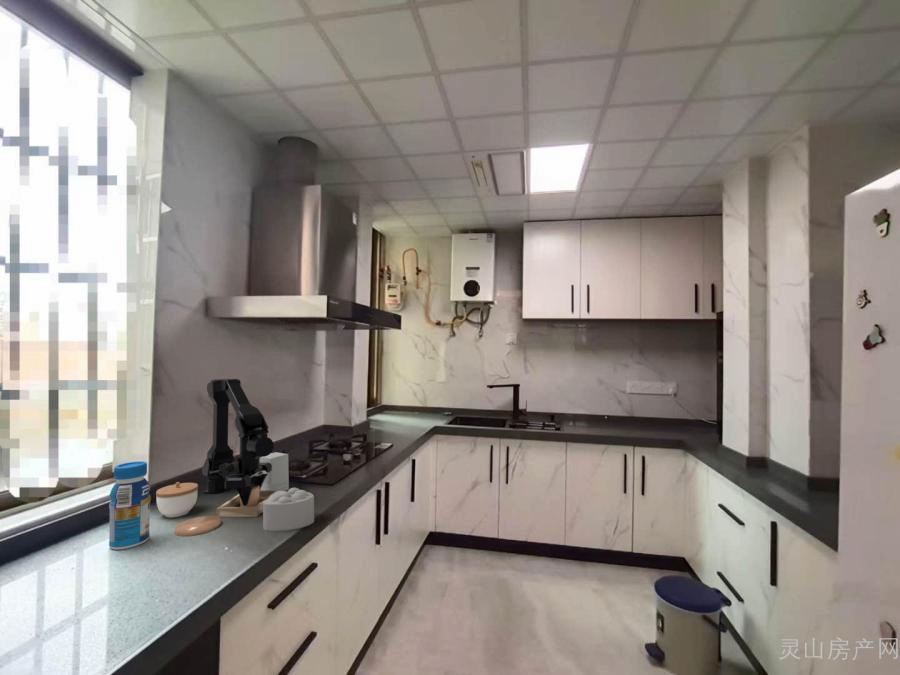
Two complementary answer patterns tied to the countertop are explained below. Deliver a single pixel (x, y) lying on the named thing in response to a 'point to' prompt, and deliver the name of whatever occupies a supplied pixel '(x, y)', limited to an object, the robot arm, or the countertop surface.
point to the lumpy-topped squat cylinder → (288, 510)
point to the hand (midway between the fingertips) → (249, 502)
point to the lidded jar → (176, 499)
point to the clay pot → (252, 497)
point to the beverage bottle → (129, 506)
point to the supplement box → (276, 472)
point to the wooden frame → (232, 511)
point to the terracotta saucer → (197, 525)
